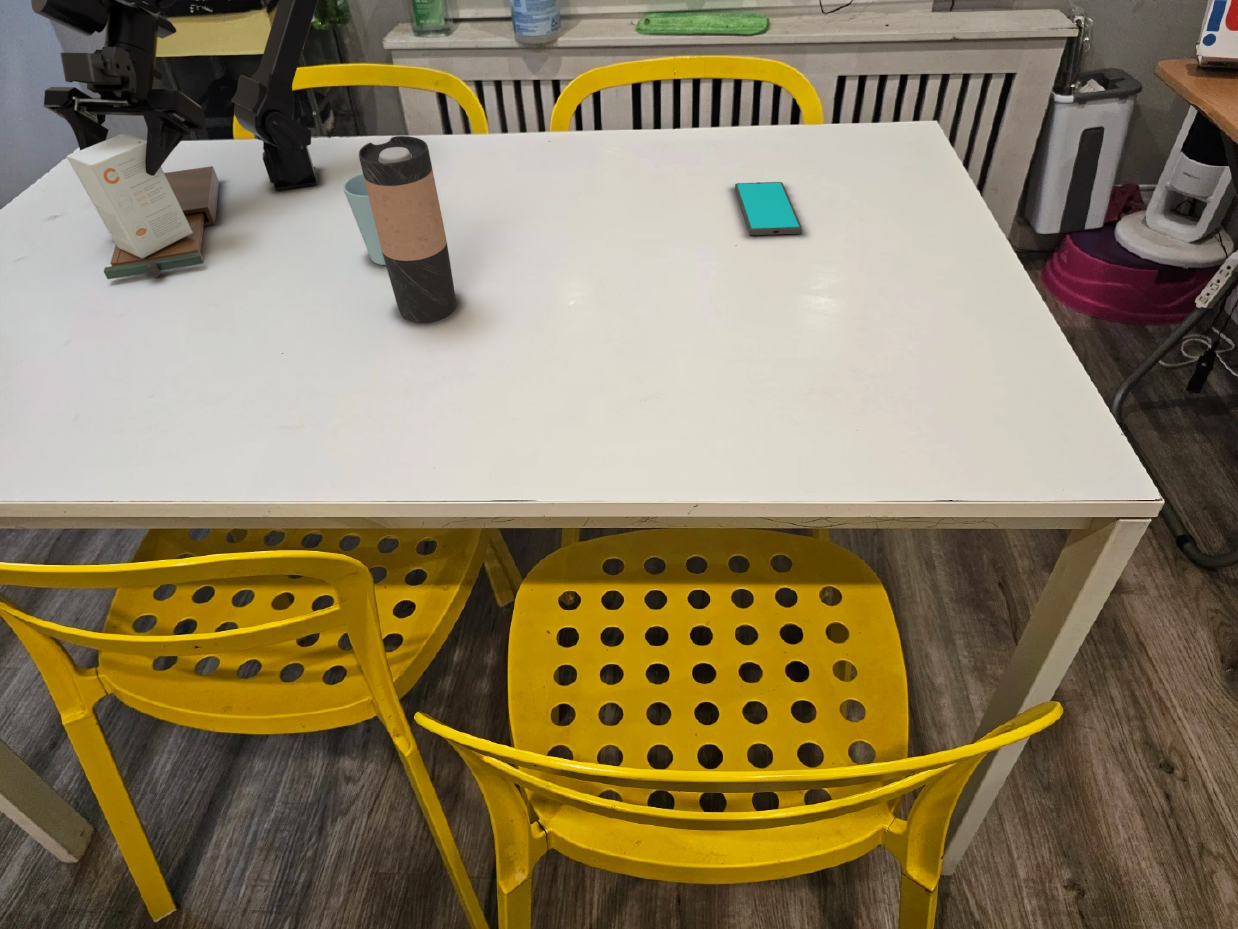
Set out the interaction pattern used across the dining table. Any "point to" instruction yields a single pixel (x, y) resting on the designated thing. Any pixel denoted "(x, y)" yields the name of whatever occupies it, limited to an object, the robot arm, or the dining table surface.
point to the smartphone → (767, 208)
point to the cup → (364, 215)
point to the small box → (130, 195)
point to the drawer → (161, 254)
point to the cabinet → (196, 191)
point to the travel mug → (410, 226)
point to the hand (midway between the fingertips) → (119, 173)
